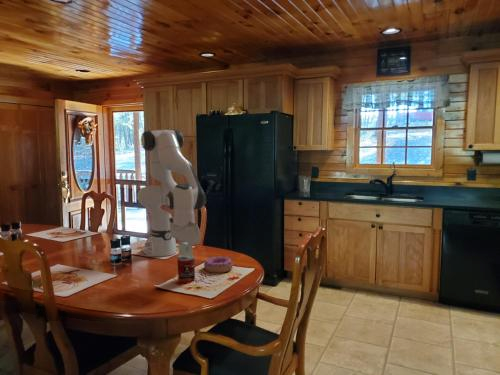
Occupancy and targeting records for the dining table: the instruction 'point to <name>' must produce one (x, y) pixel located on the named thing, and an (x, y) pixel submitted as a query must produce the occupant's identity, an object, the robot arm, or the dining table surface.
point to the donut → (218, 264)
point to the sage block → (184, 249)
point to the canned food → (186, 268)
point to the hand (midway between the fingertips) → (185, 250)
